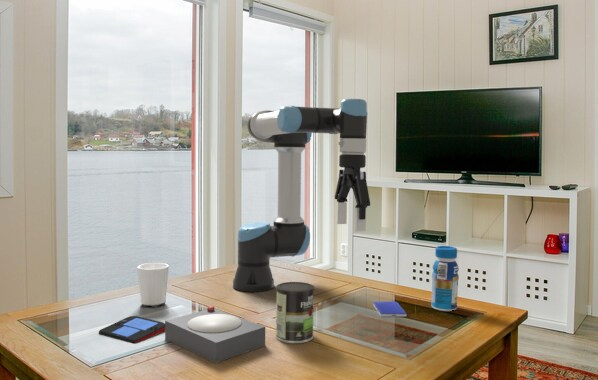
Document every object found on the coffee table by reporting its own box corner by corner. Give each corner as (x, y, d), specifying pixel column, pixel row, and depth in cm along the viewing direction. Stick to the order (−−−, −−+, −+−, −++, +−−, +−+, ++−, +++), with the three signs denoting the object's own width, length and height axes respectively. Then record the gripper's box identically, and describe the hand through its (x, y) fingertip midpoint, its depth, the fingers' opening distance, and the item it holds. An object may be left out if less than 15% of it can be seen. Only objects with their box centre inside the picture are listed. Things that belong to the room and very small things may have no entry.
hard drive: (372, 301, 174) (381, 313, 161) (397, 301, 174) (407, 313, 162) (372, 306, 174) (380, 318, 162) (397, 306, 174) (407, 318, 162)
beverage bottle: (425, 305, 174) (427, 245, 172) (447, 303, 177) (450, 244, 175) (440, 312, 166) (442, 250, 164) (462, 310, 169) (465, 249, 167)
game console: (97, 335, 143) (96, 327, 143) (132, 321, 154) (132, 314, 154) (135, 345, 136) (134, 337, 136) (169, 331, 147) (169, 323, 147)
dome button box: (165, 338, 140) (165, 316, 139) (213, 324, 151) (213, 304, 151) (216, 363, 125) (216, 338, 124) (265, 345, 136) (265, 322, 136)
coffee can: (320, 335, 145) (321, 285, 144) (300, 346, 136) (301, 293, 135) (289, 327, 150) (289, 279, 149) (268, 338, 141) (268, 287, 140)
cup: (139, 310, 163) (139, 270, 162) (135, 301, 172) (135, 263, 171) (171, 307, 167) (171, 267, 166) (166, 298, 176) (166, 261, 175)
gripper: (325, 152, 160) (323, 221, 162) (358, 154, 137) (356, 234, 138) (347, 153, 163) (346, 220, 164) (384, 154, 139) (381, 233, 141)
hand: (350, 227), depth 151 cm, fingers open, 13 cm apart
